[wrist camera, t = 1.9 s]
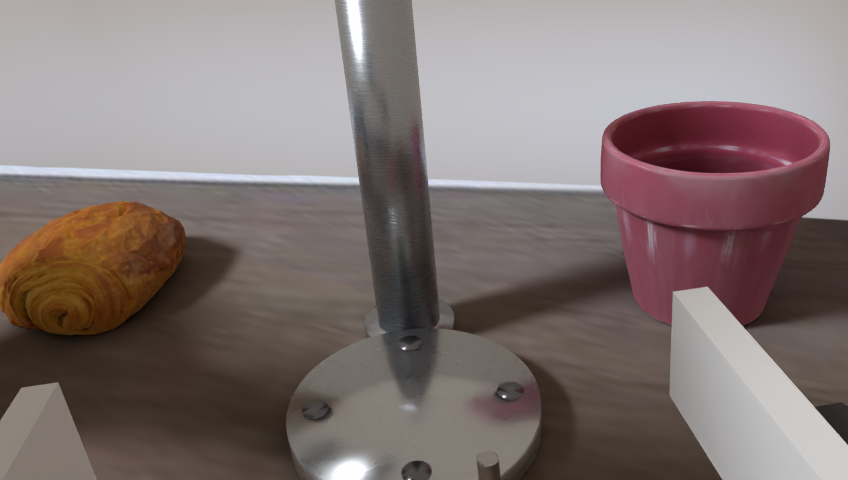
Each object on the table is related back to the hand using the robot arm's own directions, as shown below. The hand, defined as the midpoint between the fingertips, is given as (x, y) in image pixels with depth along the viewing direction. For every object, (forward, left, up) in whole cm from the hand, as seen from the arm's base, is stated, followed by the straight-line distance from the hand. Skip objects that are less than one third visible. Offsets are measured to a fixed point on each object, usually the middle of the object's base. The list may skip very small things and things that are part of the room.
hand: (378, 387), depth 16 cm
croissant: (-26, +43, -21) cm, 55 cm away
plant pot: (+21, +34, -21) cm, 45 cm away
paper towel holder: (0, +25, -21) cm, 33 cm away
